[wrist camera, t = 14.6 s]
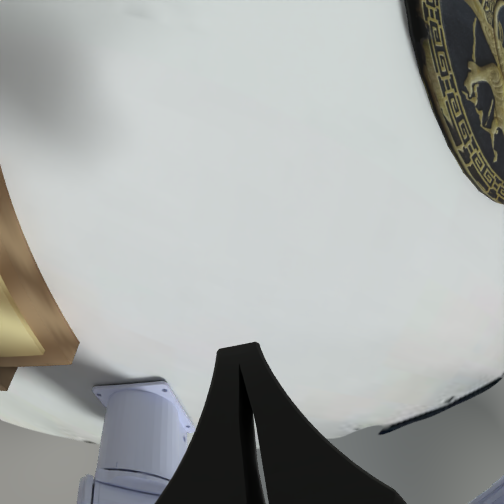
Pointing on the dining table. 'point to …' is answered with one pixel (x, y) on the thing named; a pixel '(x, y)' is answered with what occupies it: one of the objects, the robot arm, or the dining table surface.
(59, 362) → the frame
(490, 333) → the dining table surface
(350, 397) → the dining table surface
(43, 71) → the dining table surface
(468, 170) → the decorative plate
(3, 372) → the ledge
